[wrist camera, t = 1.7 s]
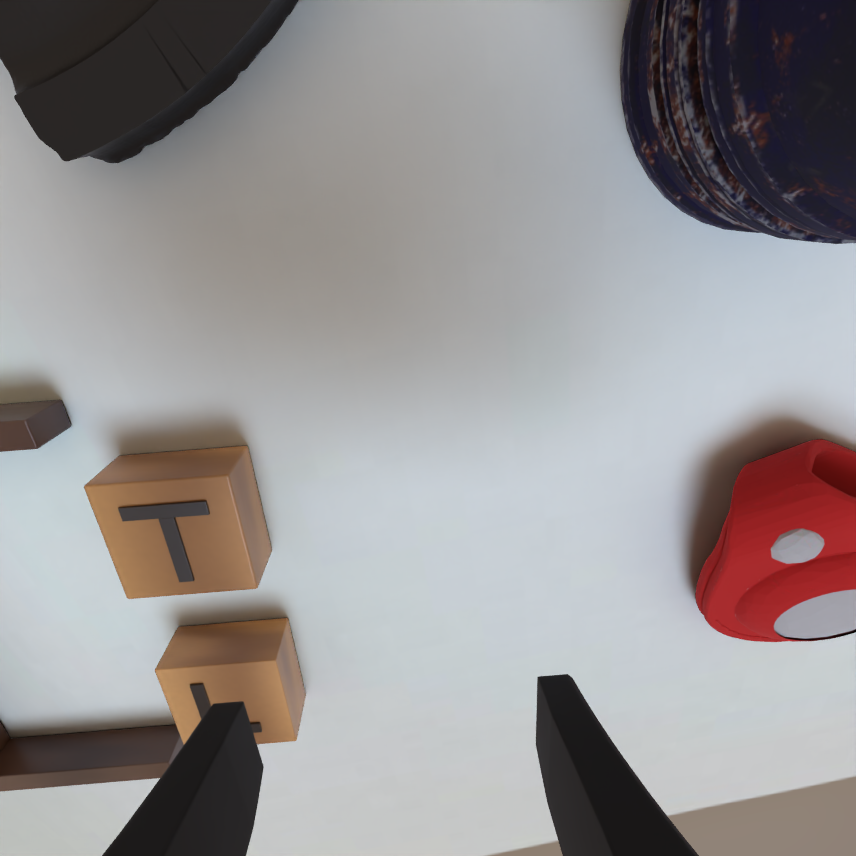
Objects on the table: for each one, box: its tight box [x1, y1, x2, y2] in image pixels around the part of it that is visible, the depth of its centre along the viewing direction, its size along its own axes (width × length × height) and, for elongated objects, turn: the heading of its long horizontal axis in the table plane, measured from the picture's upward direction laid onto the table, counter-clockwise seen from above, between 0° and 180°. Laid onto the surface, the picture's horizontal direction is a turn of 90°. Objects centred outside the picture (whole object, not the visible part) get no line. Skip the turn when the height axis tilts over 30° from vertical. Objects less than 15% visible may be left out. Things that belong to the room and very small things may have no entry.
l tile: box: [155, 618, 306, 744], centre depth 21 cm, size 5×5×2 cm
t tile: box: [84, 446, 272, 599], centre depth 18 cm, size 5×5×2 cm
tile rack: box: [0, 400, 184, 791], centre depth 20 cm, size 9×17×2 cm, turn 4°
